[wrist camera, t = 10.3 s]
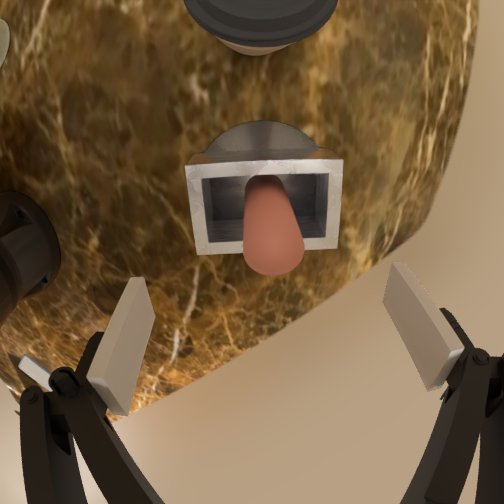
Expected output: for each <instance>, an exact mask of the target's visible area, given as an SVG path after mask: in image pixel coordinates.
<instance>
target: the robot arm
mask: <svg viewBox="0 0 504 504" xmlns="http://www.w3.org/2000/svg"><path fill="white" fill-rule="evenodd" d="M59 266H60V249H59V244H58V240H57V237H56V234H55V232H54V229H53V227H52V225H51V223H50V221H49V220H48V218H47V217H46V215H45V214H44V212H43V211H42V210H41V209H40V207H39V206H38V205H37V204H36V203H35V202H33V201H32V200H31V199H30V198H28V197H27V196H25V195H23V194H21V193H18V192H14V191H7V192H3V193H1V194H0V328H1V326H2V325H3V323H4V322H5V321H6V319H7V318H8V316H9V315H10V313H11V312H12V311H13V310H14V308H15V307H16V306H17V305H18V304H20V303H21V302H23V301H25V300H27V299H29V298H30V297H32V296H34V295H36V294H38V293H40V292H41V291H43V290H44V289H45V288H47V286H48V285H49V284H50V283H51V282H52V280H53V279H54V278H55V276H56V275H57V272H58V270H59ZM383 304H384V306H385V308H386V309H387V311H388V313H389V315H390V316H391V319H392V320H393V322H394V324H395V326H396V328H397V330H398V332H399V334H400V336H401V338H402V339H403V341H404V343H405V345H406V347H407V349H408V351H409V353H410V355H411V357H412V359H413V362H414V364H415V366H416V368H417V370H418V372H419V374H420V376H421V378H422V380H423V382H424V385H425V387H426V389H427V391H432V390H435V389H439V388H441V387H442V385H443V384H444V382H445V380H446V381H447V383H448V385H449V386H448V387H447V389H446V390H445V392H444V393H443V395H442V396H441V398H440V400H442V399H443V397H444V399H443V402H442V405H441V408H440V411H439V414H438V417H437V420H436V423H435V426H434V429H433V431H432V434H431V437H430V439H429V442H428V445H427V447H426V449H425V452H424V454H423V457H422V459H421V461H420V464H419V466H418V468H417V470H416V473H415V475H414V477H413V479H412V481H411V483H410V485H409V487H408V489H407V491H406V493H405V495H404V497H403V499H402V500H401V502H400V504H457V503H458V500H459V497H460V495H461V492H462V490H463V487H464V484H465V481H466V478H467V476H468V473H469V470H470V466H471V463H472V460H473V457H474V453H475V449H476V446H477V442H478V438H479V434H480V458H479V472H478V473H479V474H478V482H477V491H476V499H475V504H504V353H503V355H502V357H490V356H489V354H488V353H487V352H486V351H484V350H483V349H480V348H475V347H474V346H473V344H472V342H471V341H470V339H469V338H468V337H467V335H466V333H465V332H464V330H463V329H462V328H461V326H460V325H459V323H458V322H457V320H456V319H455V317H454V316H453V315H452V313H450V312H449V311H448V310H446V309H445V308H438V307H437V305H436V304H435V303H434V301H433V300H432V298H431V297H430V296H429V294H428V293H427V291H426V290H425V289H424V287H423V286H422V285H421V283H420V282H419V281H418V279H417V278H416V277H415V275H414V274H413V273H412V271H411V270H410V269H409V267H408V266H407V265H406V264H405V262H404V261H400V262H392V264H391V268H390V273H389V278H388V282H387V286H386V290H385V294H384V298H383ZM155 317H156V316H155V313H154V310H153V307H152V304H151V300H150V297H149V293H148V290H147V287H146V283H145V280H144V277H131V278H130V280H129V282H128V284H127V286H126V288H125V290H124V292H123V294H122V296H121V298H120V300H119V302H118V304H117V306H116V309H115V311H114V313H113V315H112V317H111V319H110V322H109V324H108V326H107V328H106V331H105V332H96V333H95V334H94V335H93V336H92V337H91V338H90V339H89V341H88V344H87V346H86V349H85V350H84V352H83V356H82V357H81V359H80V361H79V364H78V366H77V368H76V371H75V372H74V370H73V369H72V368H70V367H60V368H57V369H56V370H55V371H53V372H52V374H51V375H50V377H49V380H48V385H49V387H50V388H51V389H52V391H51V392H43V391H42V389H41V388H40V387H38V386H30V387H28V388H26V389H25V390H24V391H23V393H22V395H21V398H20V440H21V456H22V467H23V476H24V484H25V491H26V497H27V503H28V504H88V503H87V499H86V496H85V492H84V488H83V484H82V480H81V476H80V471H79V467H78V462H77V457H76V452H75V447H74V441H73V437H74V439H75V441H76V443H77V445H78V448H79V450H80V452H81V454H82V456H83V458H84V460H85V462H86V464H87V466H88V468H89V470H90V472H91V474H92V476H93V478H94V479H95V481H96V483H97V485H98V487H99V488H100V490H101V492H102V494H103V495H104V497H105V499H106V500H107V502H108V504H165V503H164V502H163V501H162V499H161V498H160V497H159V495H158V494H157V493H156V491H155V490H154V489H153V487H152V486H151V485H150V483H149V482H148V481H147V479H146V478H145V476H144V475H143V474H142V472H141V471H140V469H139V468H138V466H137V465H136V463H135V462H134V460H133V459H132V457H131V456H130V454H129V453H128V451H127V449H126V448H125V446H124V445H123V443H122V441H121V440H120V438H119V436H118V435H117V433H116V431H115V430H114V428H113V426H112V424H111V423H110V421H109V419H108V417H107V416H106V411H107V408H108V409H109V410H110V412H111V413H112V414H114V415H121V416H128V414H129V410H130V406H131V402H132V398H133V394H134V390H135V387H136V383H137V379H138V375H139V372H140V368H141V364H142V361H143V357H144V354H145V350H146V347H147V343H148V340H149V337H150V333H151V330H152V327H153V323H154V320H155ZM72 434H73V435H72Z"/></svg>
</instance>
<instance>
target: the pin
mask: <svg viewBox="0 0 504 504" xmlns="http://www.w3.org/2000/svg"><path fill="white" fill-rule="evenodd" d="M304 250H305V245H304V241H303V238H302V235H301V232H300V229H299V226H298V223H297V221H296V218H295V215H294V212H293V209H292V207H291V204H290V201H289V198H288V196H287V193H286V190H285V187H284V185H283V183H282V181H281V179H280V178H279V177H277V176H276V175H274V174H269V175H254V176H252V177H251V178H250V179H249V180H248V182H247V184H246V186H245V198H244V232H243V255H244V258H245V261H246V262H247V264H248V265H249V266H250V267H251V268H252V269H253V270H254V271H256V272H258V273H260V274H263V275H267V276H278V275H283V274H286V273H288V272H290V271H291V270H293V269H294V268H295V267H296V266H297V265H298V264H299V263H300V262H301V260H302V258H303V255H304Z"/></svg>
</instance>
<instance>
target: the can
mask: <svg viewBox="0 0 504 504" xmlns="http://www.w3.org/2000/svg"><path fill="white" fill-rule="evenodd" d="M9 43H10V30H9V27H8V24H7V23H6V22H5V21H4V20H2V19H0V68H1V66H2V64H3V62H4V60H5V58H6V55H7V52H8V48H9Z"/></svg>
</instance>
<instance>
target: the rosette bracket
mask: <svg viewBox="0 0 504 504" xmlns="http://www.w3.org/2000/svg"><path fill="white" fill-rule="evenodd" d="M185 171H186V179H187V187H188V195H189V203H190V210H191V217H192V224H193V231H194V238H195V245H196V251H197V255H209V254H230V253H243V232H244V198H245V186H246V184H247V182H248V180H249V179H250V178H251V177H252V176H254V175H269V174H274V175H276V176H277V177H279V178H280V179H281V181H282V183H283V185H284V187H285V190H286V193H287V196H288V198H289V201H290V204H291V207H292V209H293V212H294V215H295V218H296V221H297V223H298V226H299V229H300V232H301V235H302V238H303V241H304V245H305V250H315V249H336V248H337V244H338V234H339V222H340V209H341V194H342V176H343V159H342V158H340V157H339V156H338V155H336V154H335V153H334V152H332V151H331V150H330V149H321V148H319V147H318V146H317V145H316V144H315V143H314V141H313V140H311V139H310V138H309V137H308V136H307V135H305V134H304V133H303V132H301V131H299V130H298V129H296V128H294V127H292V126H290V125H287V124H284V123H281V122H276V121H269V120H258V121H250V122H246V123H242V124H239V125H237V126H234V127H232V128H230V129H229V130H227V131H225V132H224V133H222V134H221V135H220V136H218V137H217V138H216V139H215V140H214V141H213V142H212V143H211V144H210V146H209V147H208V148H207V150H206V151H205V152H204V153H199V154H194V156H193V157H192V158H191V159H190V160H189V162H188V163H187V164H186V165H185Z"/></svg>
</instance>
